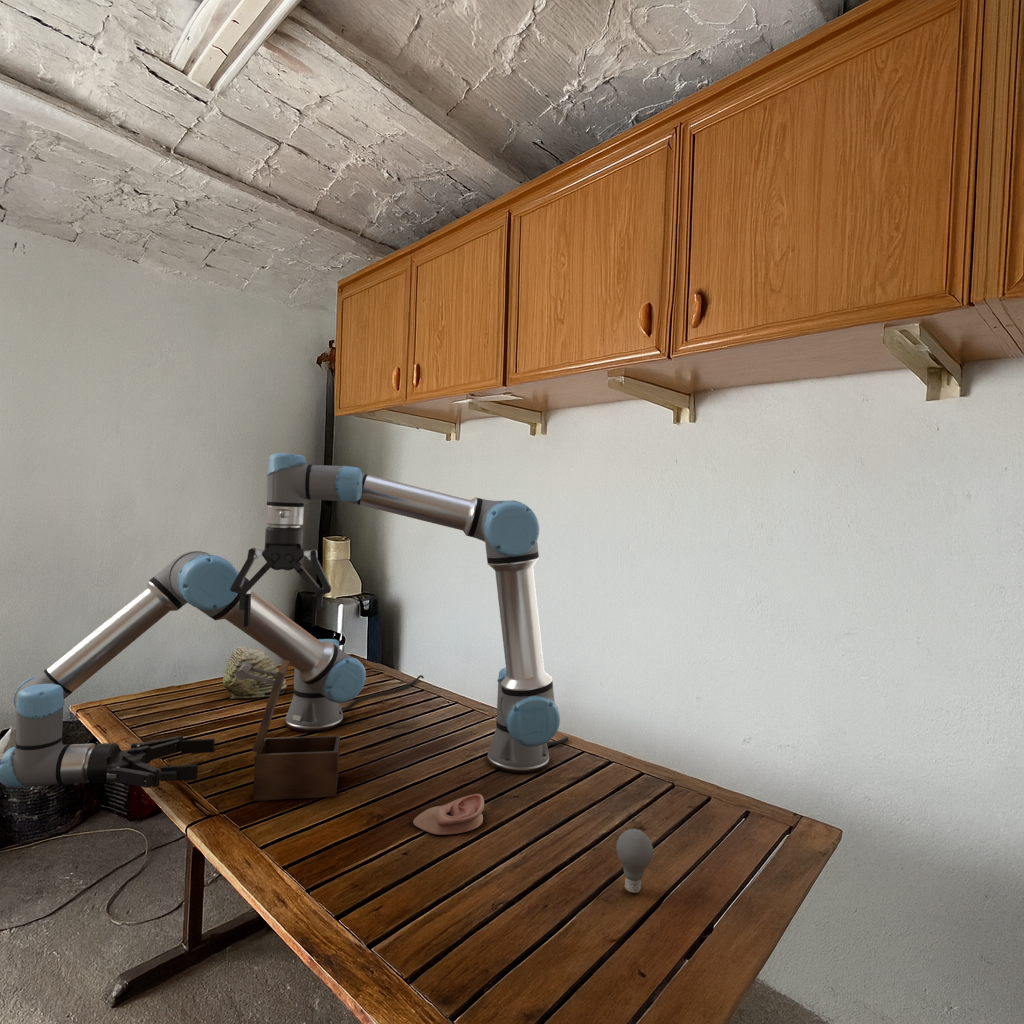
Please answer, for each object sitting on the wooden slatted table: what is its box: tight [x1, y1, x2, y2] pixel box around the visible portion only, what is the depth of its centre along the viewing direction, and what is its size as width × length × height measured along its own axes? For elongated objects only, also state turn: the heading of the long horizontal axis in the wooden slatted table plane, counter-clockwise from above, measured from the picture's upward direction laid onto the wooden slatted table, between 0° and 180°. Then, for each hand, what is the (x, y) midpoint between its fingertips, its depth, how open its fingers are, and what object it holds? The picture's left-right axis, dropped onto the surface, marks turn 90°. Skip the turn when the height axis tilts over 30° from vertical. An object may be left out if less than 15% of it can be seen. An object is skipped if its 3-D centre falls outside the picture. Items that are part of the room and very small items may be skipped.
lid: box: [236, 660, 290, 753], centre depth 135 cm, size 17×10×9 cm
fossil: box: [222, 646, 288, 699], centre depth 198 cm, size 9×18×15 cm, turn 132°
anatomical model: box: [412, 793, 485, 836], centre depth 126 cm, size 13×4×12 cm
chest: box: [252, 734, 341, 802], centre depth 137 cm, size 16×10×10 cm, turn 102°
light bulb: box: [615, 828, 654, 894], centre depth 106 cm, size 6×6×10 cm
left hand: (206, 758), depth 133 cm, fingers open, 13 cm apart
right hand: (280, 625), depth 135 cm, fingers open, 13 cm apart
